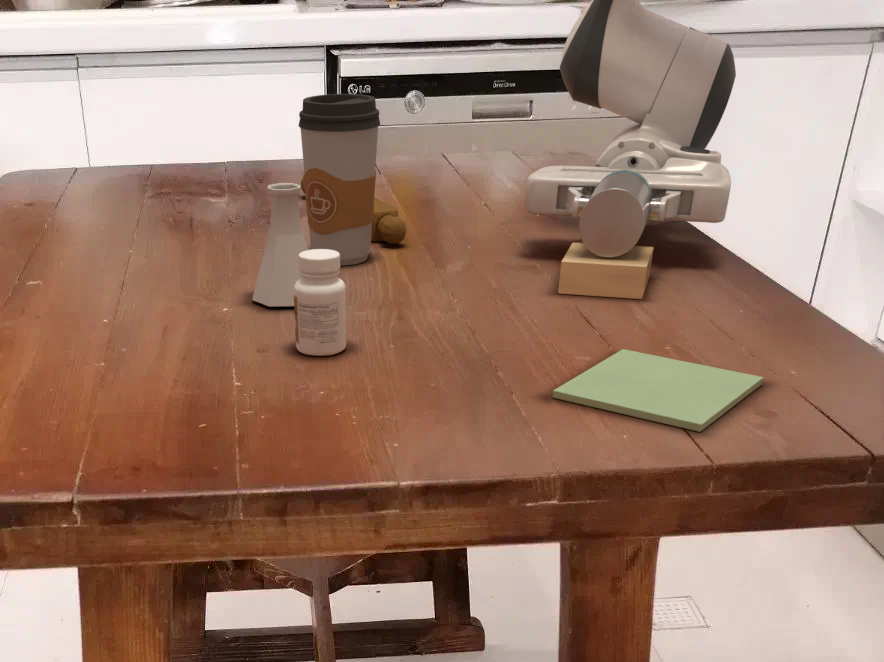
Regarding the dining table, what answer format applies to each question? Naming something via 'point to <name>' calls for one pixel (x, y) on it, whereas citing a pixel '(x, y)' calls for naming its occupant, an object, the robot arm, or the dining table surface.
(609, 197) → the tumbler
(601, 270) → the plate
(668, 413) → the mat
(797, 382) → the dining table surface
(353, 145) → the coffee cup
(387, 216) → the tap handle
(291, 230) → the flask
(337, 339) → the pill bottle
